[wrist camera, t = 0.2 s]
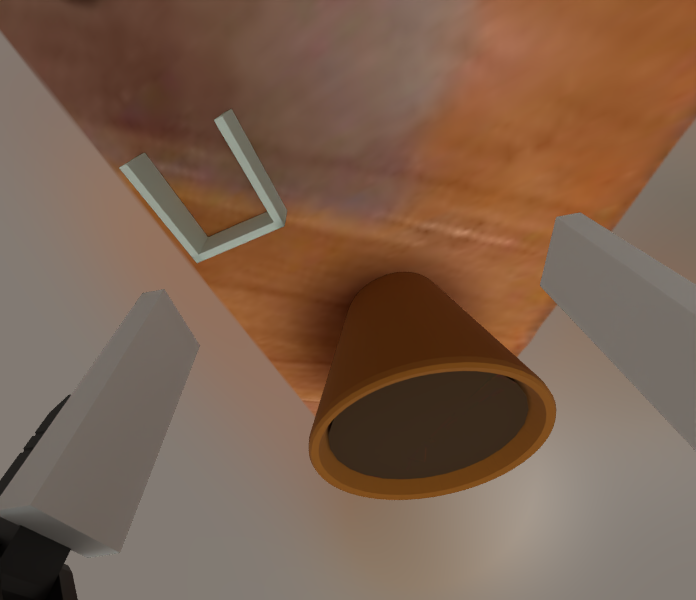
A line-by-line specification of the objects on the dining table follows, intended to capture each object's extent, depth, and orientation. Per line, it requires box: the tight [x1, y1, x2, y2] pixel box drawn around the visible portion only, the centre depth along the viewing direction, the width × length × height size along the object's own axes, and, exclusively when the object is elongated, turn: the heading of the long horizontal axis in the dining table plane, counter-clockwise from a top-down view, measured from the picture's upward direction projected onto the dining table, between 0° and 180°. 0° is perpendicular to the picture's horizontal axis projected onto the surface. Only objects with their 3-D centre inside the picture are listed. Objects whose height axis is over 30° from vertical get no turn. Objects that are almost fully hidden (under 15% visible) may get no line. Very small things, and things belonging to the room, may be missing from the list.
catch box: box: [119, 109, 287, 263], centre depth 33 cm, size 11×11×4 cm
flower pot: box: [309, 272, 556, 500], centre depth 40 cm, size 24×24×20 cm
